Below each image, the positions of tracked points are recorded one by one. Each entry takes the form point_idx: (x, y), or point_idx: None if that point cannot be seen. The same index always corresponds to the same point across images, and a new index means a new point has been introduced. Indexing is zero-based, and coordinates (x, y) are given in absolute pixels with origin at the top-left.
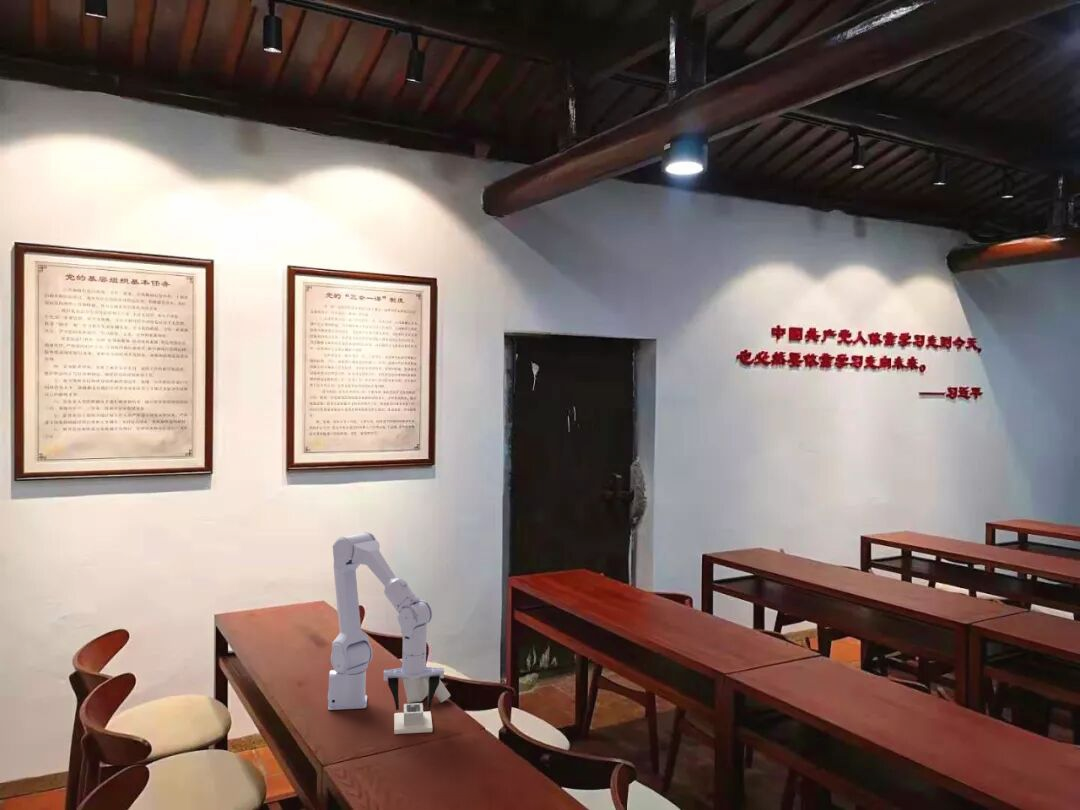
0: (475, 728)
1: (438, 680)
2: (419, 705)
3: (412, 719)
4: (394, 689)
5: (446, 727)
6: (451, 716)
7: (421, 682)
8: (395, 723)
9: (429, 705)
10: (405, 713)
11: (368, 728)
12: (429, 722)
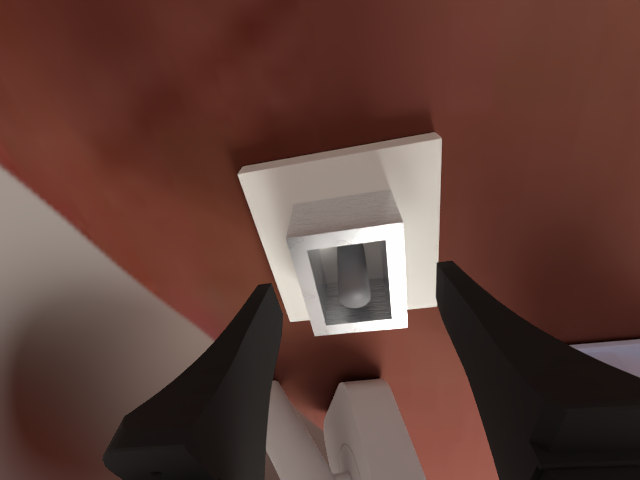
0: (65, 212)
1: (115, 468)
2: (327, 320)
3: (347, 210)
4: (555, 361)
5: (194, 216)
6: (211, 304)
7: (346, 457)
8: (433, 214)
9: (257, 293)
10: (393, 224)
11: (561, 191)
12: (269, 230)
